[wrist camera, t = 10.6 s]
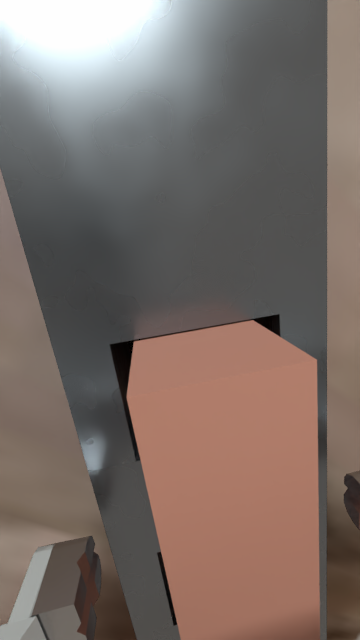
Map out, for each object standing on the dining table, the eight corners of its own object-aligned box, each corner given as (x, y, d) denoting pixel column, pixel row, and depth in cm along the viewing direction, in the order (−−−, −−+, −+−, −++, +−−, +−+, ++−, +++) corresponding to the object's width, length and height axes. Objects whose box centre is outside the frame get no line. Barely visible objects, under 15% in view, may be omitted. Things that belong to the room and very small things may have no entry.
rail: (21, 59, 9) (-76, -94, 5) (253, 40, 9) (327, -107, 6) (165, 639, 17) (171, 756, 13) (285, 605, 17) (326, 707, 13)
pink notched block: (137, 311, 11) (126, 397, 5) (217, 298, 12) (316, 359, 5) (178, 523, 14) (207, 760, 8) (240, 508, 15) (320, 724, 8)
